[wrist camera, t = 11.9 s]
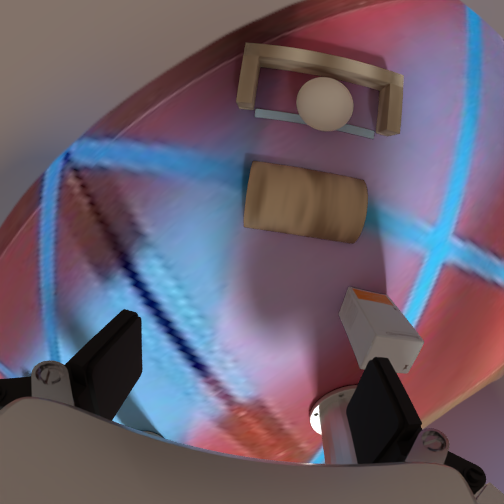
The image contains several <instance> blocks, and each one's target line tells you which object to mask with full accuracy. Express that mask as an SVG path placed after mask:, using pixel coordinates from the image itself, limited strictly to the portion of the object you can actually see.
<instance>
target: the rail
mask: <svg viewBox="0 0 504 504" xmlns="http://www.w3.org/2000/svg"><path fill="white" fill-rule="evenodd" d="M260 67H264V68H273V69H280V70H287V71H294V72H300V73H306V74H312V75H317V76H322V77H328V78H332V79H336V80H341V81H345V82H349V83H353V84H357V85H361V86H364V87H368V88H372V89H375V90H378V91H379V104H378V115H377V125H376V133H377V134H380V135H384V136H392V135H396V134H400V127H401V115H402V100H403V75H401V74H398V73H395V72H392V71H389V70H386V69H383V68H380V67H376V66H373V65H370V64H366V63H362V62H359V61H355V60H351V59H347V58H343V57H339V56H334V55H330V54H325V53H320V52H315V51H310V50H304V49H298V48H291V47H284V46H276V45H267V44H257V43H246V44H245V49H244V55H243V61H242V67H241V73H240V79H239V86H238V92H237V99H236V103H237V104H238V106H239V108H240V109H247V110H254V105H255V98H256V92H257V85H258V78H259V71H260Z"/></svg>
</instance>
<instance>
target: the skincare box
mask: <svg viewBox="0 0 504 504" xmlns="http://www.w3.org/2000/svg"><path fill="white" fill-rule="evenodd" d="M339 317H340V319H341V322H342V324H343V326H344V329H345V331H346V334H347V336H348V339H349V341H350V344H351V346H352V349H353V351H354V354H355V356H356V359H357V362H358V364H359V367H360V369H364V370H365V368H366V366H367V364H368V362H369V360H372V359H373V358H374V357H384V358H388V359H389V360H390V362H391V364H392V366H393V368H394V370H395V372H396V373H408V372H409V370H410V368H411V367H412V365H413V363H414V361H415V359H416V357H417V356H418V354H419V352H420V350H421V348H422V346H423V344H424V341H423V339H422V338H421V337H420V336H419V334H418V333H417V332H416V330H415V329H414V328H413V326H412V325H411V324H410V323H409V321H408V320H407V319H406V318H405V316H404V315H403V314H402V313H401V311H400V310H399V309H398V308H397V306H396V305H395V304H394V303H393V301H392V300H391V299H390V298H389V297H388V295H385V294H379V293H375V292H370V291H365V290H361V289H357V288H353V287H348V289H347V292H346V295H345V298H344V301H343V303H342V306H341V309H340V311H339Z"/></svg>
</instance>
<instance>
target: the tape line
mask: <svg viewBox="0 0 504 504" xmlns="http://www.w3.org/2000/svg"><path fill="white" fill-rule="evenodd" d="M255 117H259V118H267V119H275V120H282V121H288V122H294V123H301V124H306V123H305V122H304V121H303V120H302V118H301V117H300V115H298V114H292V113H285V112H278V111H271V110H263V109H256V110H255ZM306 125H307V124H306ZM337 131H342V132H346V133H350V134H355V135H359V136H363V137H367V138H371V139H374V132H375V131H372V130H369V129H365V128H361V127H357V126H352V125H348V124H345V125H344V126H343V127H341V128H339V129H337Z"/></svg>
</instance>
